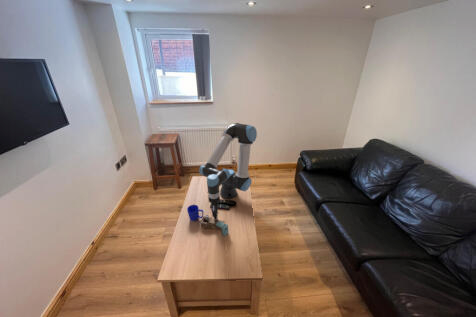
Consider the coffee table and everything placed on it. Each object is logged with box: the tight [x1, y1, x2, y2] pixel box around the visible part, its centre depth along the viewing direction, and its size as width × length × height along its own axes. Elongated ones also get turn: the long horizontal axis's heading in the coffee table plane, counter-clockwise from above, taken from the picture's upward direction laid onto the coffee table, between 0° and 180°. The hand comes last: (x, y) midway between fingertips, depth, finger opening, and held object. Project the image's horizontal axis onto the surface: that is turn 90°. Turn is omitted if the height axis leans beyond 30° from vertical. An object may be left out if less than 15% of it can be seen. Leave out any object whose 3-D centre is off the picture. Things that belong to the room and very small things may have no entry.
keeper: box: [216, 221, 229, 237], centre depth 133 cm, size 4×8×7 cm, turn 57°
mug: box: [186, 204, 204, 222], centre depth 145 cm, size 8×12×10 cm
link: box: [199, 215, 226, 230], centre depth 139 cm, size 16×6×5 cm, turn 79°
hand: (215, 220), depth 141 cm, fingers closed
